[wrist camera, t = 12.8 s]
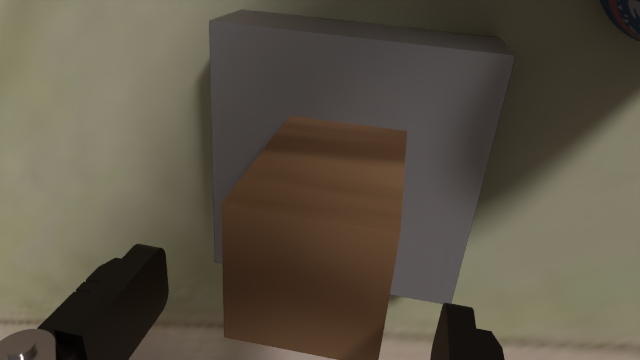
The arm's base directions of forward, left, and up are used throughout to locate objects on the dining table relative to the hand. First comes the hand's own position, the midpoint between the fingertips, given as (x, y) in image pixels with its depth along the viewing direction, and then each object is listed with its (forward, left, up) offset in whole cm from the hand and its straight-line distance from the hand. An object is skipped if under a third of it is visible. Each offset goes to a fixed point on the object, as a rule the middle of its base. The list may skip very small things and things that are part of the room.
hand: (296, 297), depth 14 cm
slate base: (0, 0, -13) cm, 13 cm away
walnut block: (0, 0, -9) cm, 9 cm away
